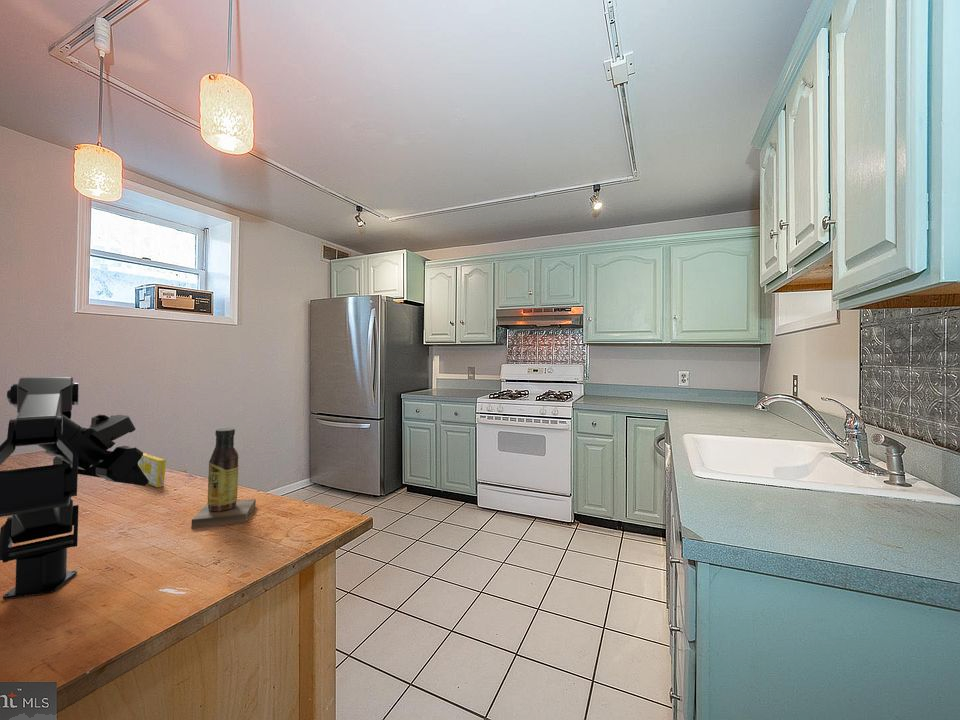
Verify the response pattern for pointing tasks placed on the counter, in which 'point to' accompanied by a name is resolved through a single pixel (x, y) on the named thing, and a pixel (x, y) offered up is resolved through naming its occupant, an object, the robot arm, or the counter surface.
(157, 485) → the candy box
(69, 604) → the counter surface
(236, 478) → the sauce bottle
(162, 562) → the counter surface
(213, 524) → the trivet
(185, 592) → the counter surface
